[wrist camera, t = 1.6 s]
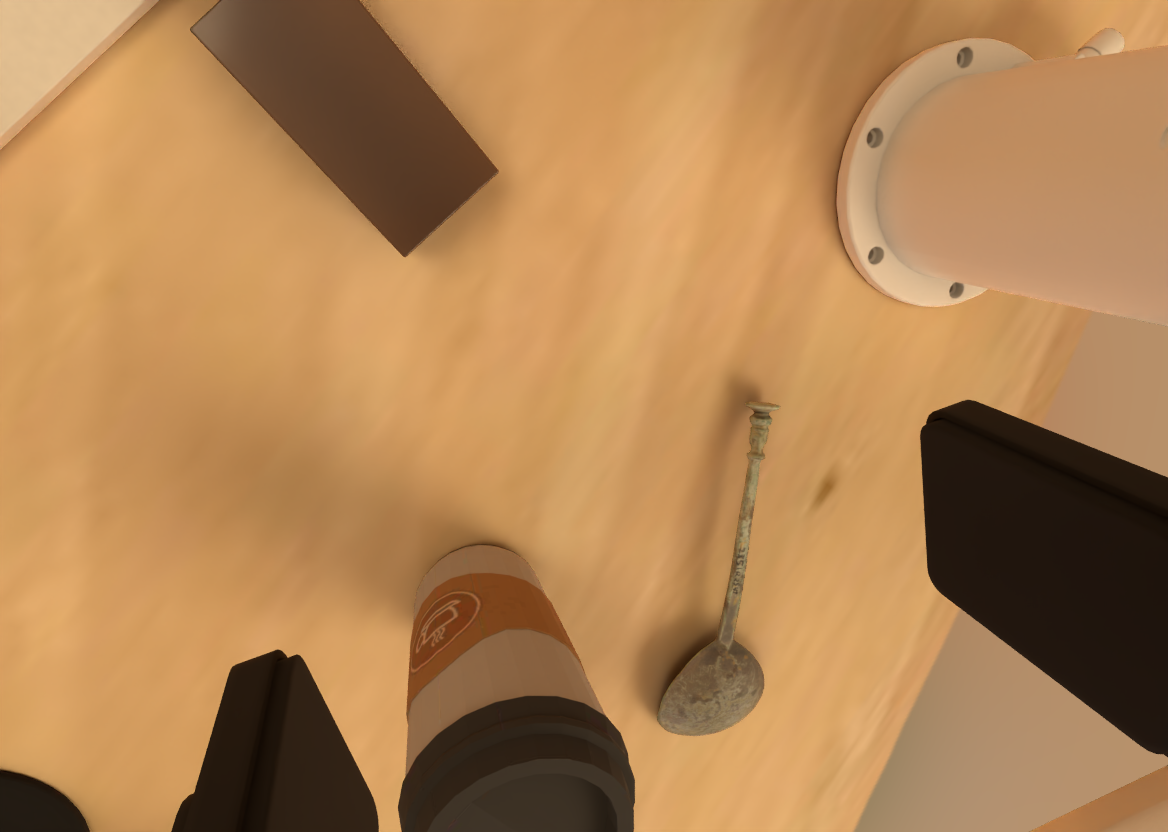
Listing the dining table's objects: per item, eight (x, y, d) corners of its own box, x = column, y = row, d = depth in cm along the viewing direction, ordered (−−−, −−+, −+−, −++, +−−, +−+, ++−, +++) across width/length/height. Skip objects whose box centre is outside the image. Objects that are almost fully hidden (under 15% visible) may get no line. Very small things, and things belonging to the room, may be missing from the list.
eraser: (309, -47, 26) (296, -83, 22) (490, 172, 30) (505, 174, 27) (210, 45, 26) (181, 25, 23) (404, 251, 31) (406, 264, 27)
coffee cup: (483, 490, 35) (544, 700, 21) (585, 588, 39) (694, 821, 25) (358, 600, 35) (340, 876, 22) (471, 687, 39) (517, 972, 25)
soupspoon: (639, 729, 44) (732, 715, 46) (660, 773, 41) (759, 756, 43) (702, 394, 36) (810, 396, 38) (733, 418, 33) (849, 419, 35)
